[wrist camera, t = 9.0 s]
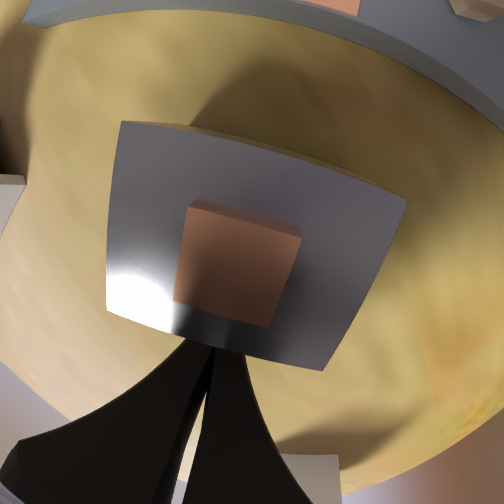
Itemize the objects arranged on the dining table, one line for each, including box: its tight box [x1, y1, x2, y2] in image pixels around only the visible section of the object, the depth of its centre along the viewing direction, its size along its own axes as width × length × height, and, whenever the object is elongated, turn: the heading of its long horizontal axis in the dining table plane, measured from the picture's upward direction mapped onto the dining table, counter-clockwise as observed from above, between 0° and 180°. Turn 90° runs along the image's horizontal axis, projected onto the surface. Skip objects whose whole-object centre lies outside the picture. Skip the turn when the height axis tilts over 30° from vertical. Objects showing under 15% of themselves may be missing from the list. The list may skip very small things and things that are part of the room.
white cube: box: [280, 453, 342, 504], centre depth 13 cm, size 6×6×6 cm
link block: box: [106, 121, 408, 371], centre depth 6 cm, size 5×4×4 cm
